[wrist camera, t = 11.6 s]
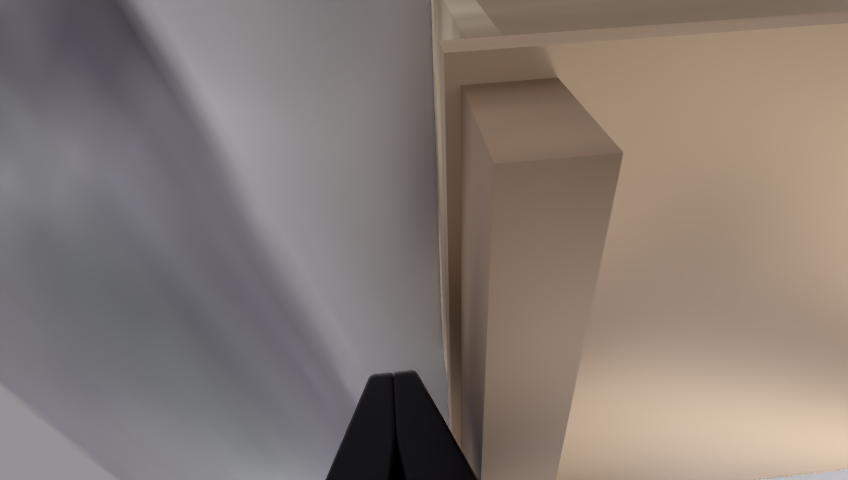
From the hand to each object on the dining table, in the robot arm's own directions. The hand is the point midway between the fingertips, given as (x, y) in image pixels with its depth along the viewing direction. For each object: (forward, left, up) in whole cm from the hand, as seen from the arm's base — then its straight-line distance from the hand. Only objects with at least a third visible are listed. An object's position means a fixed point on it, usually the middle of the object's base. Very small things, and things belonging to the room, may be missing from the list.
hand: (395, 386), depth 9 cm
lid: (0, -6, -1) cm, 6 cm away
